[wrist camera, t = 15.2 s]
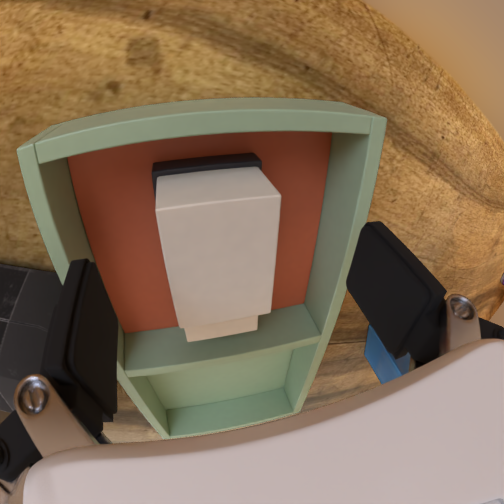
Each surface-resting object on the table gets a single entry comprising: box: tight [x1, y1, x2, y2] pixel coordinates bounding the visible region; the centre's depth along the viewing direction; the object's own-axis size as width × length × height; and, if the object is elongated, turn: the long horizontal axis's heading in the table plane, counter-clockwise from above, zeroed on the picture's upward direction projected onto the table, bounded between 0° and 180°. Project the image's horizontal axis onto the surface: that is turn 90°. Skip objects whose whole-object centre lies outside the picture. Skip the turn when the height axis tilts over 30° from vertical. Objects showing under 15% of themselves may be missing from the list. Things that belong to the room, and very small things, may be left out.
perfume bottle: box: [364, 324, 410, 384], centre depth 23 cm, size 6×6×12 cm
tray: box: [17, 97, 387, 439], centre depth 17 cm, size 14×26×4 cm, turn 179°
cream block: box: [151, 153, 281, 342], centre depth 13 cm, size 9×4×4 cm, turn 179°
